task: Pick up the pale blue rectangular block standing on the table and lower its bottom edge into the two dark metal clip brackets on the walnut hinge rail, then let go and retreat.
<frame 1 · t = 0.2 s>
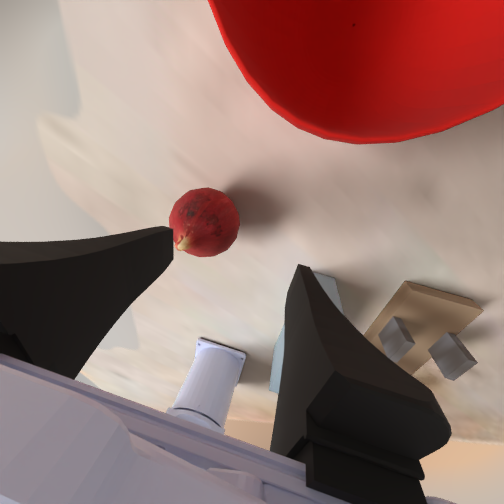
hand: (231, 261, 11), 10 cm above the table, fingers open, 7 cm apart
ceramic cup: (385, 21, 13), on the table
pale blue rectangular block: (300, 316, 25), on the table
hinge rail: (384, 350, 25), on the table
onion: (221, 210, 21), on the table
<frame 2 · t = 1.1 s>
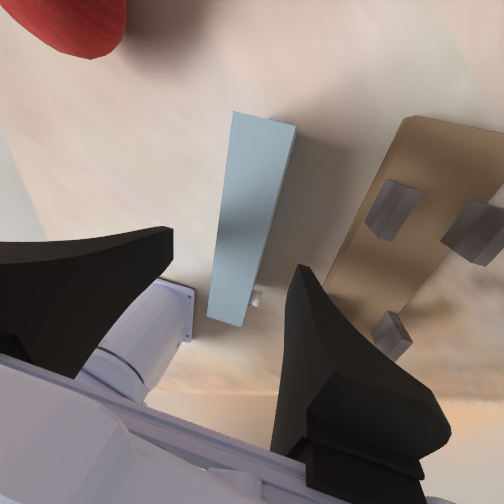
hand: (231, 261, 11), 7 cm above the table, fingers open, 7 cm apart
pale blue rectangular block: (255, 218, 18), on the table
hinge rail: (375, 262, 17), on the table
onion: (117, 19, 13), on the table
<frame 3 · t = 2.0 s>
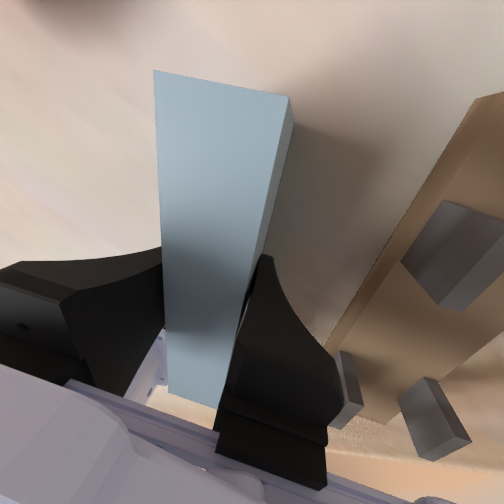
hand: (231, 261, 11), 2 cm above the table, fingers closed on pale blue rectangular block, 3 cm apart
pale blue rectangular block: (240, 245, 13), on the table, touching gripper
hinge rail: (408, 309, 12), on the table
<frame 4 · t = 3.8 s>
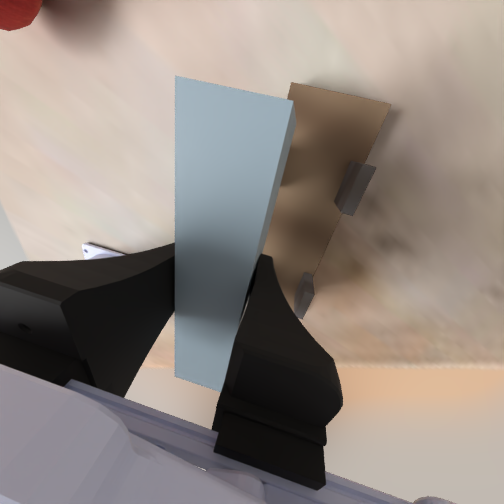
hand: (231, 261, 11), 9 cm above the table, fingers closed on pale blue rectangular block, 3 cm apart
pale blue rectangular block: (243, 239, 14), point 6 cm above the table, touching gripper
hinge rail: (292, 227, 19), on the table
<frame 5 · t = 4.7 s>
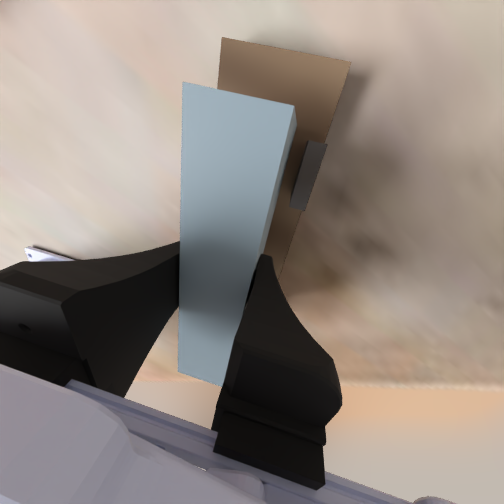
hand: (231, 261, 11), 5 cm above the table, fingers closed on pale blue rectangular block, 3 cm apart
pale blue rectangular block: (244, 238, 14), point 2 cm above the table, touching gripper
hinge rail: (251, 226, 16), on the table
when the fingers open (4 cm above the table, at t = 5.7 s): pale blue rectangular block stays where it is, resting on hinge rail.
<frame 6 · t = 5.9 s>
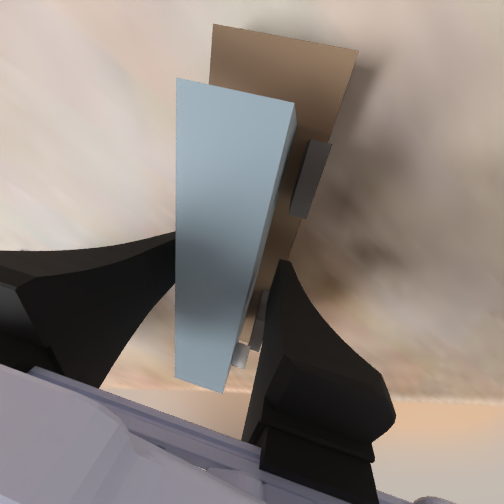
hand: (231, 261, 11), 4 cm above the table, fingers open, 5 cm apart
pale blue rectangular block: (243, 240, 14), point 1 cm above the table, touching hinge rail
hinge rail: (248, 232, 15), on the table
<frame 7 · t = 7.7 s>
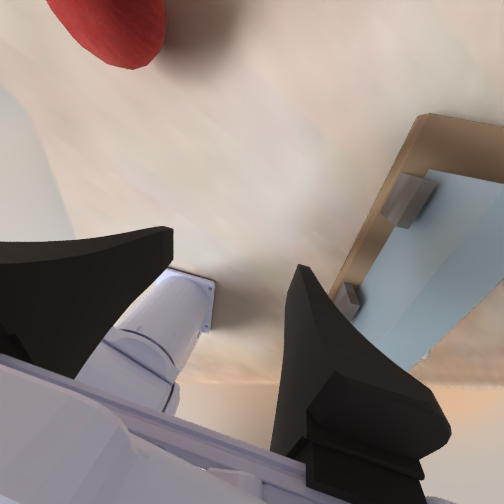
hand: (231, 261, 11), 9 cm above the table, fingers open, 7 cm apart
pale blue rectangular block: (396, 259, 17), point 1 cm above the table, touching hinge rail
hinge rail: (389, 251, 18), on the table
onion: (152, 32, 15), on the table
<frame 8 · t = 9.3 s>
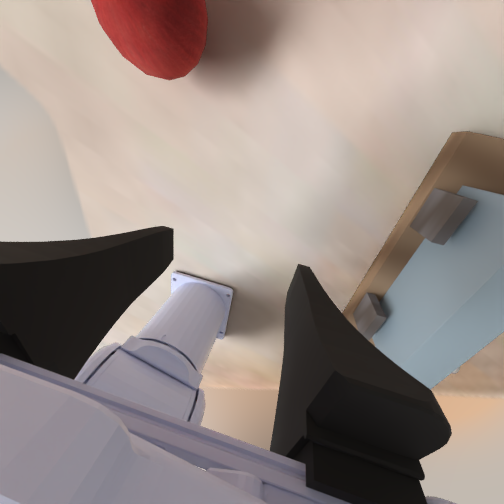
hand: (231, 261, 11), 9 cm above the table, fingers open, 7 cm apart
pale blue rectangular block: (422, 271, 17), point 1 cm above the table, touching hinge rail
hinge rail: (413, 263, 19), on the table
onion: (187, 41, 15), on the table
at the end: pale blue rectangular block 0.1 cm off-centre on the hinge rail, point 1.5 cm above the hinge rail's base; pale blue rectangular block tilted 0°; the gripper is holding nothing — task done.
